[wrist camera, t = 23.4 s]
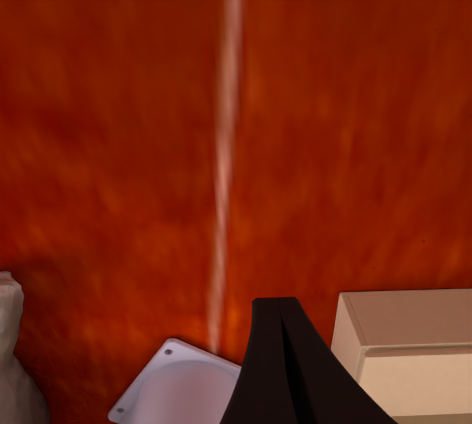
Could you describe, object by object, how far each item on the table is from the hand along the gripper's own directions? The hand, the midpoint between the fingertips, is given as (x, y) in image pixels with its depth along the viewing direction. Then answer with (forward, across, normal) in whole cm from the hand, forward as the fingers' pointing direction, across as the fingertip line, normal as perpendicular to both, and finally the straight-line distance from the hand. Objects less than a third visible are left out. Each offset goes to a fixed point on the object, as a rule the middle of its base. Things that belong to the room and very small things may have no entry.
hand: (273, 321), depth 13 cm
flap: (+6, -13, +11) cm, 18 cm away
